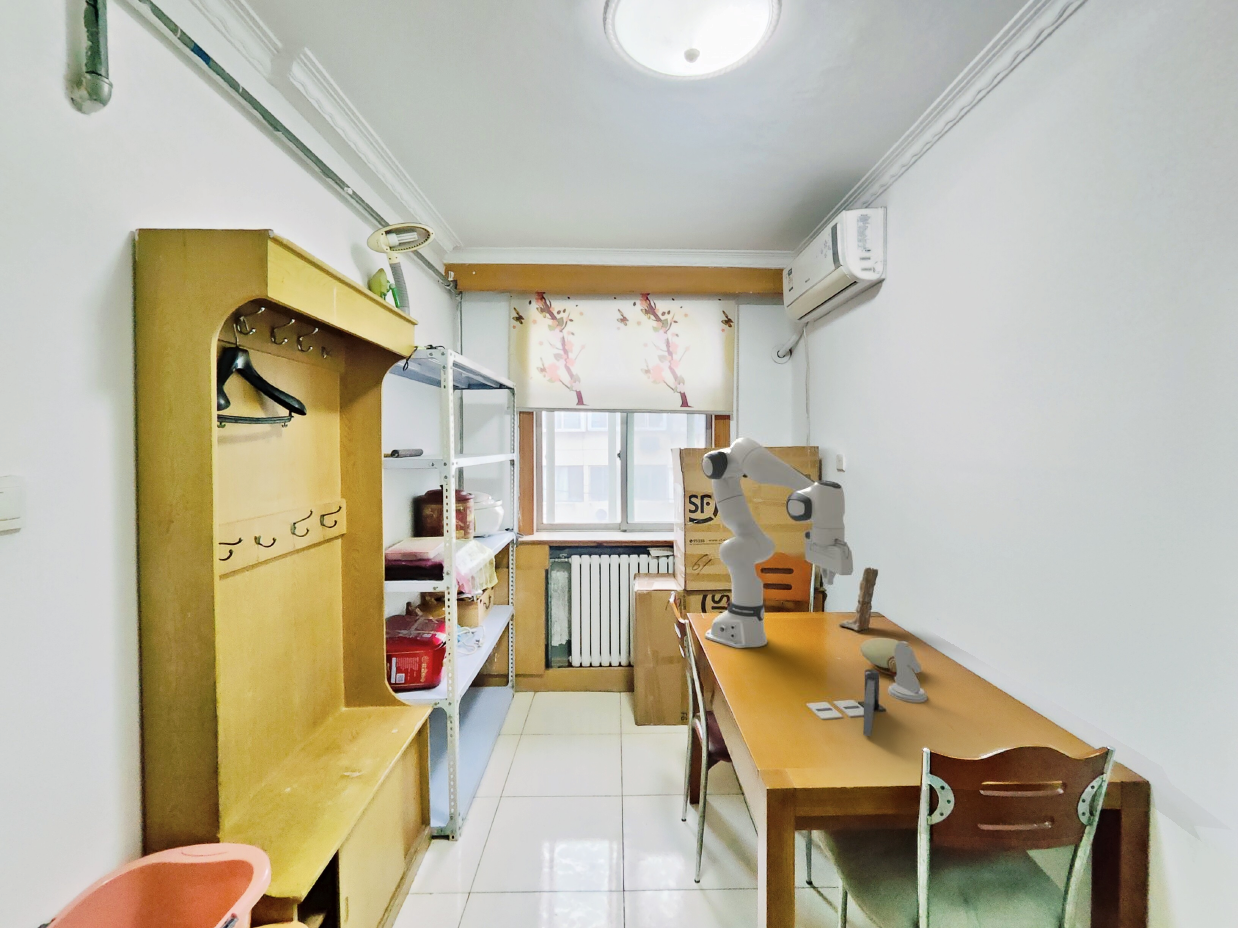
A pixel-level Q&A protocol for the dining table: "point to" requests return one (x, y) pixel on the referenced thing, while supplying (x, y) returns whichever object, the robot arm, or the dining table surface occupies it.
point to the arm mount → (874, 708)
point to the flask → (881, 653)
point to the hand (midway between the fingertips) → (827, 583)
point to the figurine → (863, 601)
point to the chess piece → (906, 675)
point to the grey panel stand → (870, 699)
